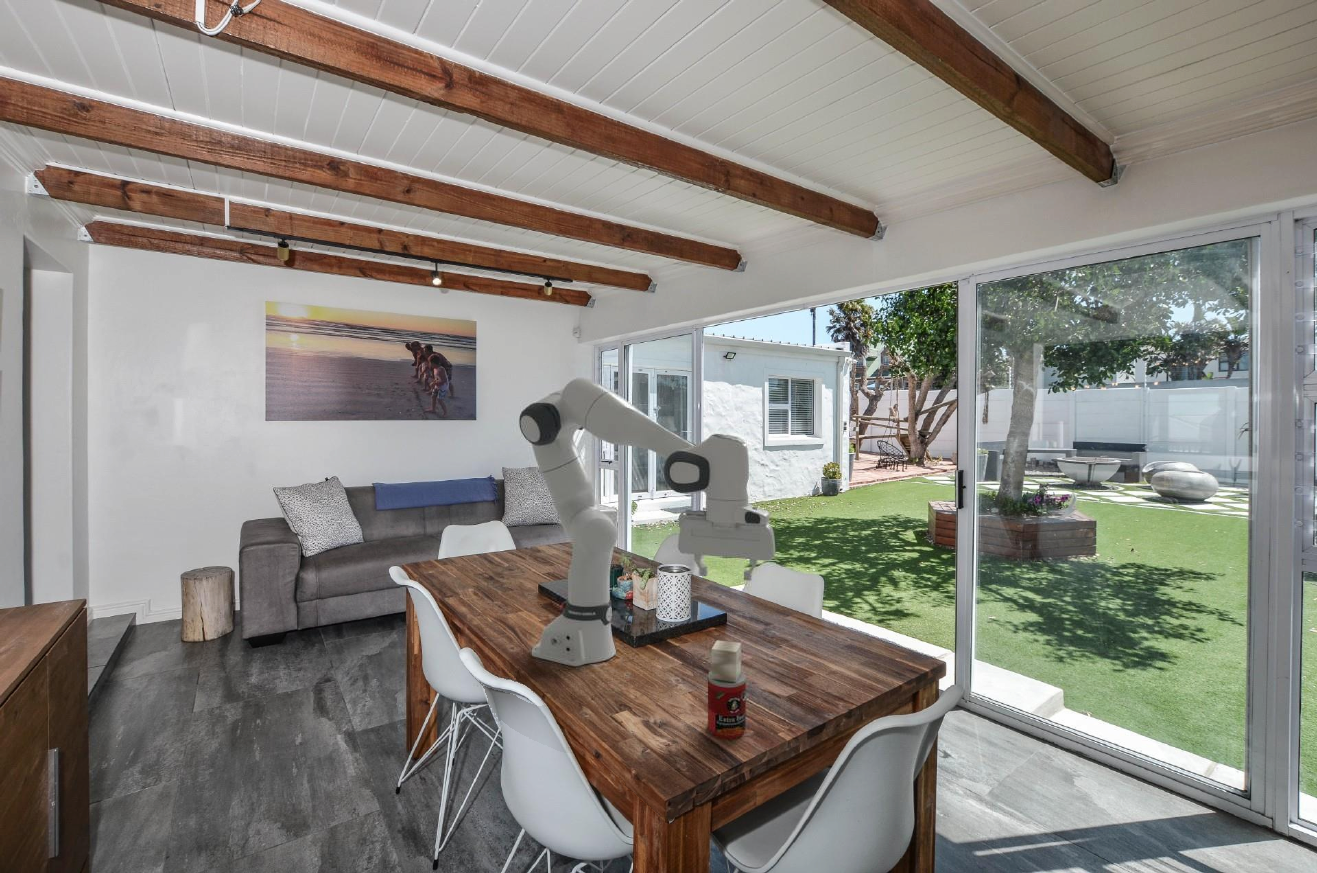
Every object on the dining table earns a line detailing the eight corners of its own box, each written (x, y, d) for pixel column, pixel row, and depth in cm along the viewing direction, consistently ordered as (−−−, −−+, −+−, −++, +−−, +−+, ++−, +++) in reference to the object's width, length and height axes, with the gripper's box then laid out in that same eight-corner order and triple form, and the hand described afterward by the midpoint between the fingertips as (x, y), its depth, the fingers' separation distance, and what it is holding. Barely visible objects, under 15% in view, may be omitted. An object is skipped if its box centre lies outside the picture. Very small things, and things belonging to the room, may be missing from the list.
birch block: (711, 678, 118) (711, 649, 118) (716, 669, 123) (717, 640, 123) (736, 682, 117) (736, 652, 117) (740, 672, 121) (741, 643, 121)
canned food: (715, 742, 115) (715, 686, 115) (702, 722, 123) (702, 669, 123) (752, 737, 117) (752, 681, 117) (736, 717, 125) (736, 665, 125)
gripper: (674, 510, 124) (673, 576, 125) (773, 517, 118) (772, 586, 119) (682, 507, 130) (681, 569, 131) (777, 513, 124) (775, 578, 125)
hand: (725, 577), depth 125 cm, fingers open, 8 cm apart
